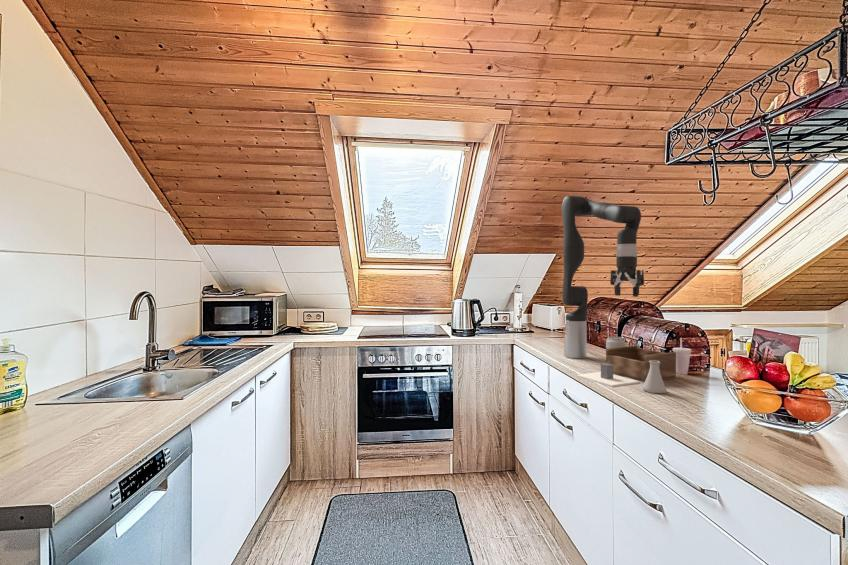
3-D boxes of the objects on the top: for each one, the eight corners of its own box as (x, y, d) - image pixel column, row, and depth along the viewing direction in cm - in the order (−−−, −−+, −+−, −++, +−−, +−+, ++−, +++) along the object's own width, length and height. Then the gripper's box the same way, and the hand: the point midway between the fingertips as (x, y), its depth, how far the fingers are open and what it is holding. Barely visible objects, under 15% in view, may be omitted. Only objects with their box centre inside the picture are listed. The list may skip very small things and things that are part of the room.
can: (605, 366, 181) (606, 337, 181) (605, 362, 188) (605, 335, 187) (625, 367, 178) (625, 338, 178) (624, 364, 185) (624, 336, 185)
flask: (671, 394, 139) (671, 363, 139) (649, 394, 139) (649, 363, 138) (659, 388, 146) (659, 359, 146) (638, 388, 146) (638, 359, 146)
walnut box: (605, 372, 170) (605, 348, 170) (634, 368, 176) (634, 345, 176) (645, 382, 153) (645, 356, 153) (675, 378, 160) (676, 352, 160)
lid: (576, 378, 163) (576, 361, 163) (602, 374, 168) (602, 358, 168) (611, 388, 148) (611, 370, 148) (639, 384, 153) (639, 367, 153)
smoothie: (668, 372, 169) (668, 337, 168) (679, 371, 171) (679, 336, 171) (684, 376, 163) (684, 339, 163) (695, 374, 166) (695, 338, 165)
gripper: (605, 256, 177) (605, 295, 177) (635, 254, 164) (634, 297, 164) (619, 256, 180) (618, 295, 180) (648, 255, 167) (648, 296, 167)
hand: (626, 296), depth 172 cm, fingers open, 8 cm apart
